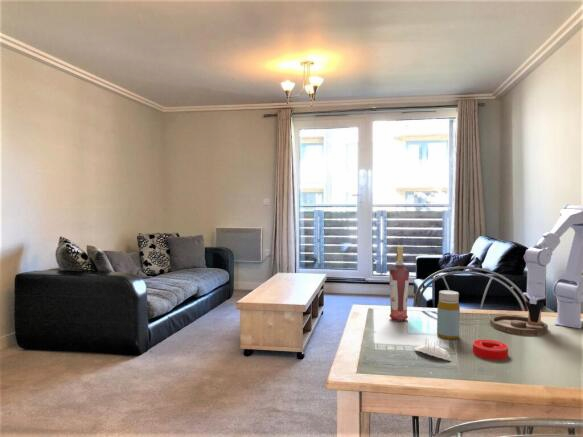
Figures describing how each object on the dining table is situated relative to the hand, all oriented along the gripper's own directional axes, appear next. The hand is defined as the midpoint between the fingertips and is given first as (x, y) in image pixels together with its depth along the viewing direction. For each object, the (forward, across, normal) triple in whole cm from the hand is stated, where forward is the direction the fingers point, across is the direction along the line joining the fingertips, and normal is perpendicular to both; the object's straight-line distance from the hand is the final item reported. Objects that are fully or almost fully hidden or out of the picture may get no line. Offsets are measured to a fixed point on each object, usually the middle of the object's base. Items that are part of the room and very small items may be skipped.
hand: (535, 320), depth 156 cm
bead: (+2, 0, 0) cm, 2 cm away
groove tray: (+3, 0, -5) cm, 6 cm away
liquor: (+4, +16, -44) cm, 47 cm away
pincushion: (+4, +46, -21) cm, 51 cm away
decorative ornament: (+4, +34, -8) cm, 36 cm away
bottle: (+4, +26, -23) cm, 34 cm away
